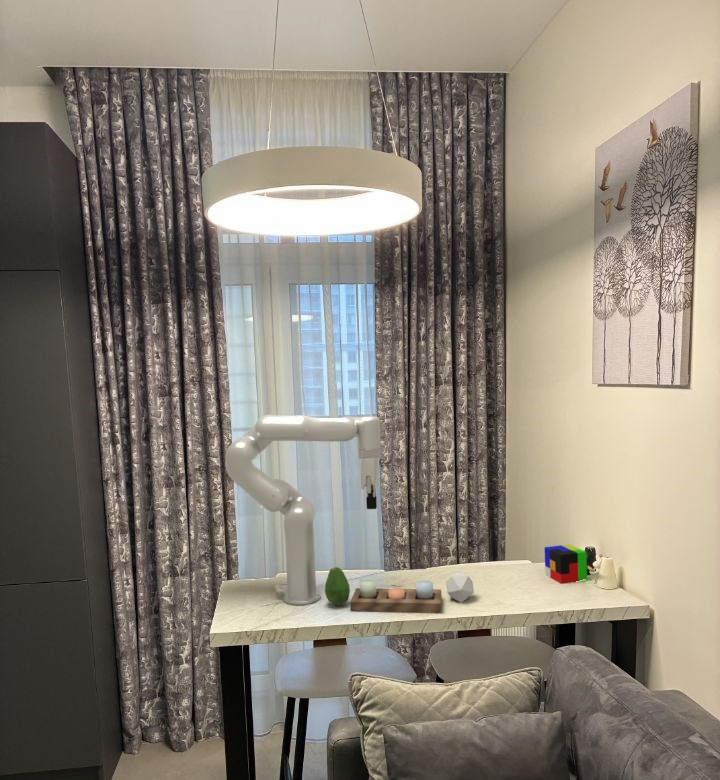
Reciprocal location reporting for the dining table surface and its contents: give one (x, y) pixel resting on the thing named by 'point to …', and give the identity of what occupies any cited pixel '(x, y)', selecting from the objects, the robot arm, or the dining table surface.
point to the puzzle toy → (565, 563)
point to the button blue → (424, 589)
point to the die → (459, 586)
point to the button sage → (368, 589)
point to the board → (396, 602)
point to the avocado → (337, 587)
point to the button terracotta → (396, 593)
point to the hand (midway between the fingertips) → (371, 508)
